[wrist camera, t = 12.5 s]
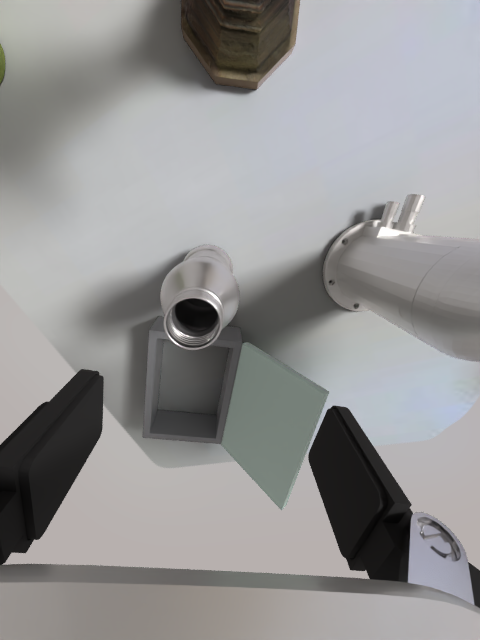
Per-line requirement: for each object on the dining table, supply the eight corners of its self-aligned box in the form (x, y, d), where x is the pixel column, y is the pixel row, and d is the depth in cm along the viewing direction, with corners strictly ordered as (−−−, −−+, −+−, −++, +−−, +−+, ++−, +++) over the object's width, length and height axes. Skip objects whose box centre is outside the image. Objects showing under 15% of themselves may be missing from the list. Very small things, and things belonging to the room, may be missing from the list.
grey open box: (158, 315, 36) (149, 330, 31) (239, 327, 37) (242, 342, 33) (151, 413, 42) (142, 437, 37) (221, 420, 44) (221, 443, 39)
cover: (324, 394, 25) (329, 391, 26) (242, 343, 32) (247, 342, 33) (281, 510, 31) (286, 505, 32) (221, 444, 39) (225, 441, 39)
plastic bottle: (174, 272, 34) (116, 335, 15) (204, 231, 32) (180, 245, 13) (212, 300, 35) (202, 387, 17) (242, 263, 34) (268, 314, 15)
